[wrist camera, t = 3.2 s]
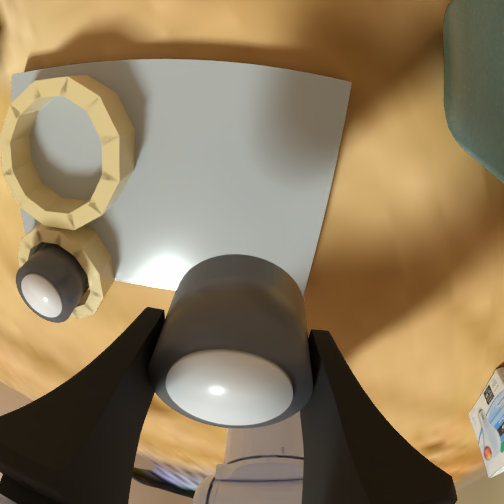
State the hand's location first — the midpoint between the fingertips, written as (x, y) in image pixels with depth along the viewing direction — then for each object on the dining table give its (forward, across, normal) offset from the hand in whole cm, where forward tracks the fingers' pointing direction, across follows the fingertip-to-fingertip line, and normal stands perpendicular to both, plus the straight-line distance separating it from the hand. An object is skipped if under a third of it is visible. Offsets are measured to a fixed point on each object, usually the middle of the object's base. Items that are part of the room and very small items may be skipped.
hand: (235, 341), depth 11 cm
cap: (+2, 0, 0) cm, 2 cm away
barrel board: (+10, +6, -1) cm, 11 cm away
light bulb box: (+10, -34, +17) cm, 39 cm away
